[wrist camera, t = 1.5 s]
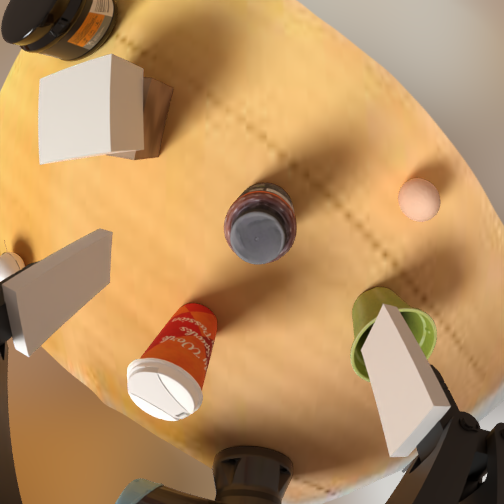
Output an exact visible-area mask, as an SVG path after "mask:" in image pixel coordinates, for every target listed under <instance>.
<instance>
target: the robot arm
mask: <svg viewBox="0 0 504 504" xmlns="http://www.w3.org/2000/svg"><path fill="white" fill-rule="evenodd" d="M111 246H112V232H110V231H107V230H103V229H98V230H96V231H94V232H92V233H90V234H88V235H86V236H84V237H82V238H81V239H79V240H77V241H75V242H73V243H71V244H69V245H68V246H66V247H64V248H62V249H60V250H59V251H57V252H55V253H53V254H51V255H50V256H48V257H46V258H44V259H43V260H41V261H38V262H35V263H31V264H29V265H27V266H25V267H24V268H22V270H19V271H17V272H15V274H12V275H10V276H9V277H7V278H5V279H4V280H2V281H1V282H0V504H22V501H21V496H20V492H19V488H18V483H17V478H16V473H15V467H14V460H13V454H12V446H11V438H10V428H9V414H8V390H7V389H8V388H7V372H8V370H7V368H8V345H7V340H8V339H10V338H11V337H12V338H13V342H14V345H15V349H17V350H18V351H20V352H21V353H23V354H25V355H26V356H28V357H29V356H31V355H32V354H33V352H35V351H36V350H37V349H38V348H39V347H40V346H41V345H42V344H43V343H44V342H45V341H46V340H47V339H48V338H49V337H50V336H51V335H52V334H53V333H55V332H56V331H57V330H58V329H59V328H60V327H61V326H62V325H63V324H64V323H65V322H66V321H67V320H68V319H70V318H71V317H72V316H73V315H74V314H75V313H76V312H77V311H78V310H79V309H81V308H82V307H83V306H84V305H85V304H86V303H87V302H88V301H90V300H91V299H92V298H93V297H94V296H95V295H96V294H97V293H99V292H100V291H101V290H102V289H103V288H104V287H106V286H107V285H108V284H109V283H110V263H111ZM361 352H362V355H363V358H364V362H365V365H366V368H367V372H368V375H369V379H370V382H371V386H372V389H373V393H374V397H375V400H376V404H377V408H378V411H379V415H380V419H381V423H382V427H383V431H384V435H385V439H386V443H387V447H388V452H389V456H390V457H407V456H408V455H409V454H410V453H411V452H412V451H413V450H414V449H415V448H417V451H418V454H419V455H418V456H417V457H416V458H415V459H414V460H413V461H412V462H411V463H410V464H409V465H408V466H406V467H405V468H404V469H403V470H402V472H405V471H406V470H407V471H406V473H405V475H404V476H403V478H402V479H401V481H400V483H399V484H398V486H397V487H396V489H395V490H394V492H393V493H392V495H391V496H390V498H389V499H388V501H387V502H386V503H385V504H504V423H498V424H497V425H496V426H495V427H494V428H493V429H492V430H491V431H486V430H482V429H480V426H479V423H478V422H477V420H476V419H475V418H474V417H473V416H472V415H470V414H468V413H466V412H460V411H459V409H458V407H457V405H456V403H455V401H454V399H453V397H452V395H451V393H450V391H449V390H448V387H447V386H446V384H445V383H444V380H443V378H442V376H441V374H440V373H439V372H438V371H437V369H436V368H435V367H434V366H433V365H430V364H429V362H428V361H427V359H426V357H425V355H424V353H423V351H422V350H421V348H420V346H419V344H418V342H417V341H416V339H415V337H414V335H413V334H412V332H411V330H410V328H409V327H408V325H407V323H406V322H405V320H404V318H403V316H402V315H401V313H400V311H399V310H398V308H397V307H395V306H391V305H387V304H383V305H382V308H381V310H380V312H379V314H378V316H377V318H376V321H375V323H374V325H373V327H372V329H371V331H370V333H369V335H368V337H367V339H366V341H365V343H364V345H363V347H362V349H361ZM212 470H213V476H214V482H215V488H216V498H215V501H212V500H209V499H205V498H202V497H198V496H194V495H191V494H188V493H184V492H181V491H178V490H175V489H172V488H169V487H167V486H164V485H163V484H158V483H154V482H151V481H148V480H145V479H136V480H134V481H132V482H131V483H130V484H129V485H128V486H127V487H126V488H125V489H124V490H123V492H122V493H121V495H120V496H119V498H118V499H117V501H116V503H115V504H281V502H282V498H283V496H284V494H285V492H286V490H287V487H288V485H289V483H290V481H291V479H292V475H293V465H292V462H291V461H290V459H289V458H287V457H286V456H285V455H283V454H281V453H279V452H276V451H274V450H270V449H266V448H261V447H251V446H241V447H233V448H228V449H225V450H223V451H221V452H219V453H218V454H217V455H216V456H215V459H214V463H213V469H212ZM485 474H487V477H486V480H485V481H484V482H483V483H482V477H483V476H484V475H485Z"/></svg>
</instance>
